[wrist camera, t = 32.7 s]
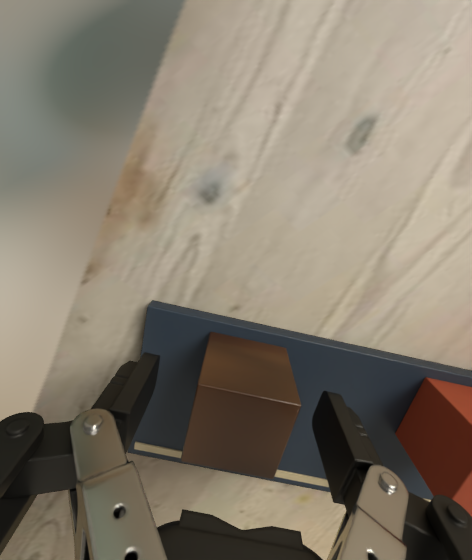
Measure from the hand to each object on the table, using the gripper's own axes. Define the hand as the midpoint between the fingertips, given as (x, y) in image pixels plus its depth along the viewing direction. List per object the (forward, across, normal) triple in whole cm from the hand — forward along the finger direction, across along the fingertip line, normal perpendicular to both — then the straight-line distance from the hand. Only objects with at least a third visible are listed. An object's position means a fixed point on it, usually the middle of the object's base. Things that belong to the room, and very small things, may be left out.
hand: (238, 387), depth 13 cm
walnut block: (+2, 0, 0) cm, 2 cm away
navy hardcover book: (+2, -6, +2) cm, 7 cm away
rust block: (+2, -12, 0) cm, 12 cm away
